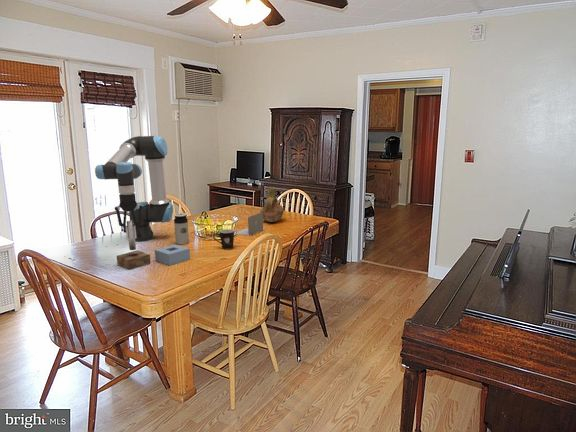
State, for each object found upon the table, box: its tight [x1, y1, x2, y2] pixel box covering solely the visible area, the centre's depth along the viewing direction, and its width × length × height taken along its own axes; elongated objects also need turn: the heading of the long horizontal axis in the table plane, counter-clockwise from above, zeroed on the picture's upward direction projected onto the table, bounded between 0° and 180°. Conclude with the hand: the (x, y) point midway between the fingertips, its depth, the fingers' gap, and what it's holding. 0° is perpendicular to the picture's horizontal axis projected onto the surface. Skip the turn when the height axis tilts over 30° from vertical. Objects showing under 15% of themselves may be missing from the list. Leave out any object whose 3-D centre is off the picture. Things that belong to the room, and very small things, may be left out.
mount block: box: [116, 249, 151, 271], centre depth 216 cm, size 12×12×5 cm
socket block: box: [154, 243, 191, 266], centre depth 222 cm, size 13×13×6 cm
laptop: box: [235, 211, 264, 237], centre depth 278 cm, size 18×12×13 cm
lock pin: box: [126, 220, 137, 251], centre depth 213 cm, size 3×3×15 cm
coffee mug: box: [212, 228, 235, 250], centre depth 243 cm, size 12×9×10 cm
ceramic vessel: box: [259, 187, 285, 223], centre depth 306 cm, size 17×26×25 cm, turn 172°
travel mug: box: [173, 212, 190, 246], centre depth 252 cm, size 8×8×18 cm
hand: (131, 238), depth 214 cm, fingers closed on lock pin, 3 cm apart
